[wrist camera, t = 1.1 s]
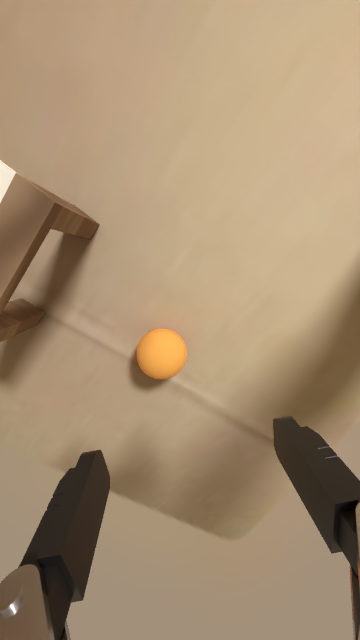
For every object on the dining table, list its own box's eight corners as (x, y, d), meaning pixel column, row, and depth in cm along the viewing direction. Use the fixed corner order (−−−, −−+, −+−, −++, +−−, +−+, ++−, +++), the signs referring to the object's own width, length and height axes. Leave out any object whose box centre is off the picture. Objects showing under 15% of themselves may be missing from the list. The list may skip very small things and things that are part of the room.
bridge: (99, 224, 25) (55, 202, 15) (36, 324, 28) (-34, 357, 18) (76, 206, 24) (15, 172, 15) (14, 311, 27) (-69, 337, 18)
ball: (194, 340, 29) (199, 359, 23) (167, 372, 30) (166, 399, 24) (158, 313, 28) (154, 327, 22) (131, 348, 29) (121, 370, 23)
